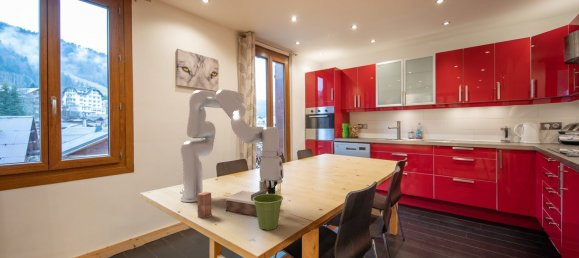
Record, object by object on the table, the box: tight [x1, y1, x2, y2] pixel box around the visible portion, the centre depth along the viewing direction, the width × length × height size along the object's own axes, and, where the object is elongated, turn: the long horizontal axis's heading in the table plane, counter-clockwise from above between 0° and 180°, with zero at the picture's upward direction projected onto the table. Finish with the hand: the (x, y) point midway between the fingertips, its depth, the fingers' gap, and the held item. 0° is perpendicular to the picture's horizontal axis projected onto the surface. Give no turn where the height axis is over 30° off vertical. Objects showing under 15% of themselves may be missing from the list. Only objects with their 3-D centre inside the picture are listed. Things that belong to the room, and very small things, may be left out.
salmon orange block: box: [197, 191, 213, 219], centre depth 105 cm, size 4×4×10 cm
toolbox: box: [225, 199, 258, 218], centre depth 112 cm, size 18×13×5 cm
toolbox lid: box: [225, 188, 268, 205], centre depth 112 cm, size 18×13×4 cm
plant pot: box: [253, 193, 284, 231], centre depth 93 cm, size 12×12×11 cm
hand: (271, 195), depth 107 cm, fingers closed
